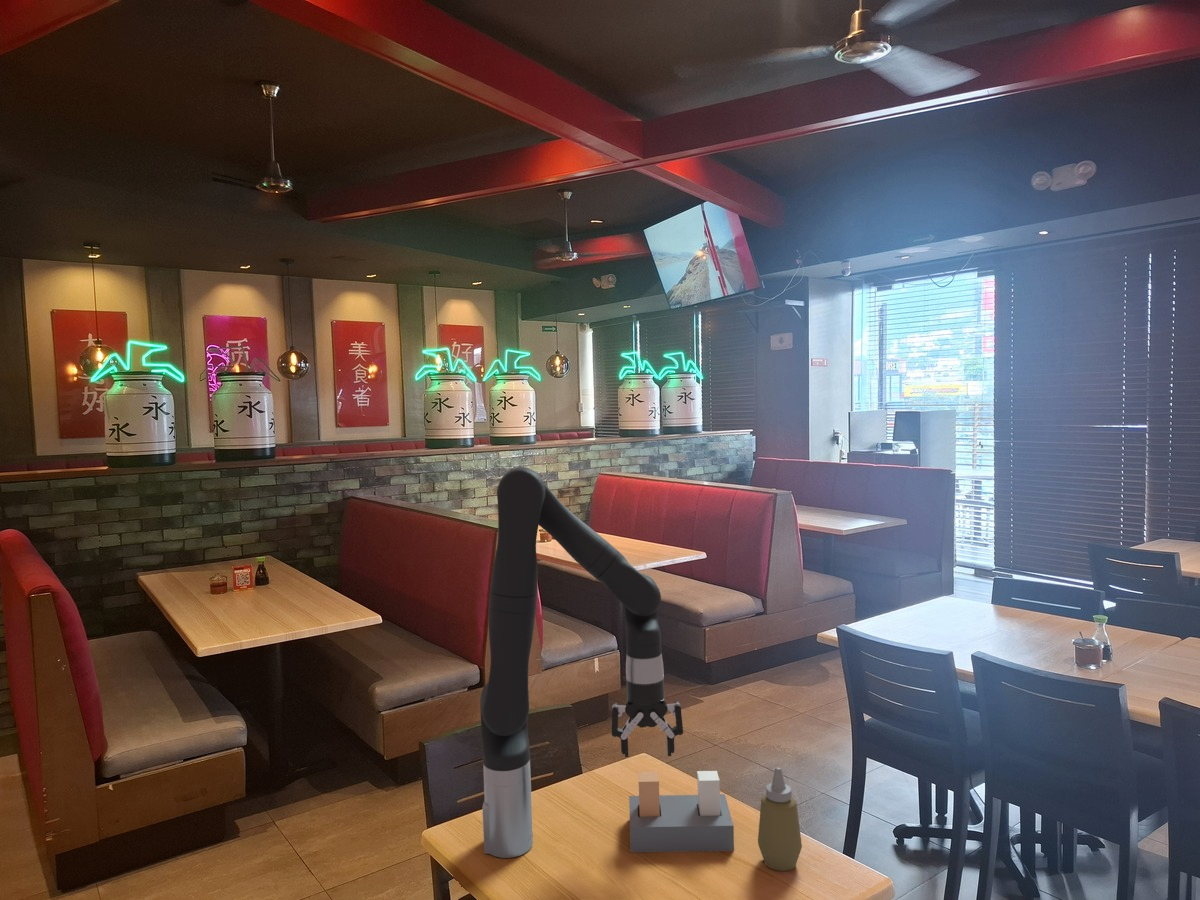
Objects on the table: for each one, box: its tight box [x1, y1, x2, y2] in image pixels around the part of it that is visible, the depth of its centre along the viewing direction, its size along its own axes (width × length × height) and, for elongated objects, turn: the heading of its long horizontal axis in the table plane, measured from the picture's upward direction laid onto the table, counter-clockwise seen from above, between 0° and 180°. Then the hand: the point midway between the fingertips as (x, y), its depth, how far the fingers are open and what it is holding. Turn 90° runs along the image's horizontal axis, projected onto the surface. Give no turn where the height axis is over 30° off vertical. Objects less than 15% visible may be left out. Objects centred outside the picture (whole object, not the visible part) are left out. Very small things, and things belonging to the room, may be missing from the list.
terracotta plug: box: [637, 771, 660, 817], centre depth 153 cm, size 4×4×12 cm
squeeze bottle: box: [757, 767, 803, 872], centre depth 142 cm, size 8×8×18 cm
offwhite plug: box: [696, 770, 721, 816], centre depth 152 cm, size 4×4×12 cm
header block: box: [628, 793, 735, 853], centre depth 153 cm, size 20×12×5 cm, turn 89°
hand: (648, 755), depth 152 cm, fingers open, 8 cm apart
